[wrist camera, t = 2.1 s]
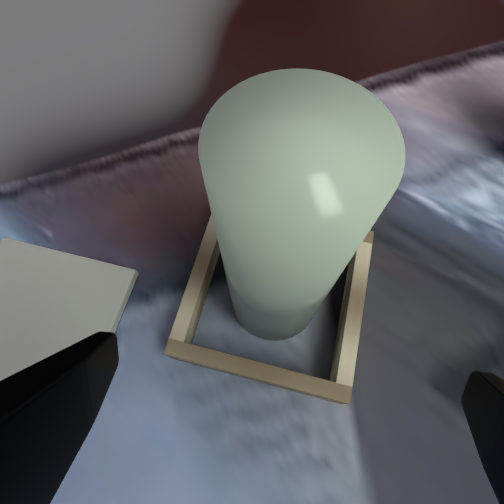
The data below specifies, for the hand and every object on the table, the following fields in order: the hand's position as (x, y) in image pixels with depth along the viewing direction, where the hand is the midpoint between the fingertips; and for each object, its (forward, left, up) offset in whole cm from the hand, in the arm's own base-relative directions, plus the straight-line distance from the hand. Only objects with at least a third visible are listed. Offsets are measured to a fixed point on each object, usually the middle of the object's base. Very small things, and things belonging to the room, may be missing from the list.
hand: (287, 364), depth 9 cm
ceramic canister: (+5, +1, -11) cm, 13 cm away
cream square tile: (0, +14, -11) cm, 18 cm away
